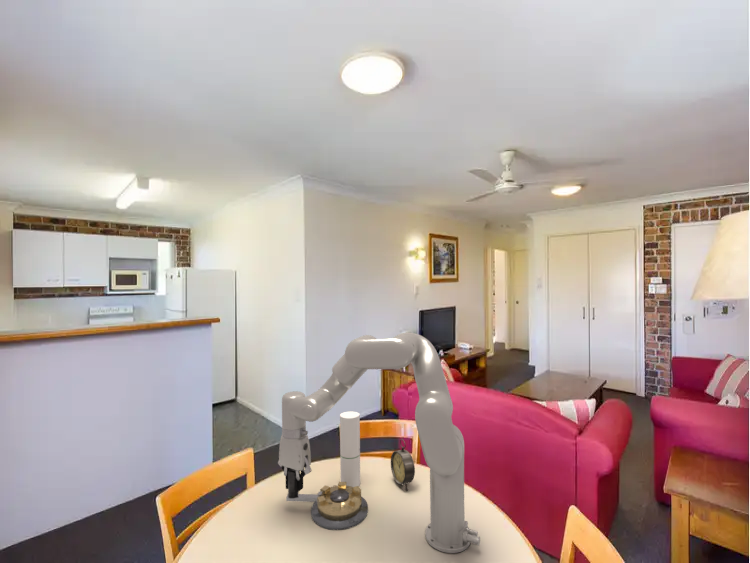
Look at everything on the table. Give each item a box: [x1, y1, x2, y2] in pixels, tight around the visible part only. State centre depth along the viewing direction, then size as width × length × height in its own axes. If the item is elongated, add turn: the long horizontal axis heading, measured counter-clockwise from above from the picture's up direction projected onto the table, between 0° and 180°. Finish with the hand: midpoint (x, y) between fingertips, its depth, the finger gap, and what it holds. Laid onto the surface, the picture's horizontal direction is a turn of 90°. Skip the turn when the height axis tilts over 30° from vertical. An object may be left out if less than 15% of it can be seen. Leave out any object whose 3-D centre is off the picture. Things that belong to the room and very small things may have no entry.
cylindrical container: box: [339, 410, 361, 487], centre depth 132 cm, size 7×7×25 cm
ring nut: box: [285, 469, 363, 520], centre depth 116 cm, size 24×14×11 cm, turn 87°
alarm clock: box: [390, 438, 416, 492], centre depth 131 cm, size 11×5×16 cm, turn 25°
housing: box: [310, 496, 369, 531], centre depth 116 cm, size 18×18×1 cm
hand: (294, 488), depth 117 cm, fingers closed on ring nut, 3 cm apart
